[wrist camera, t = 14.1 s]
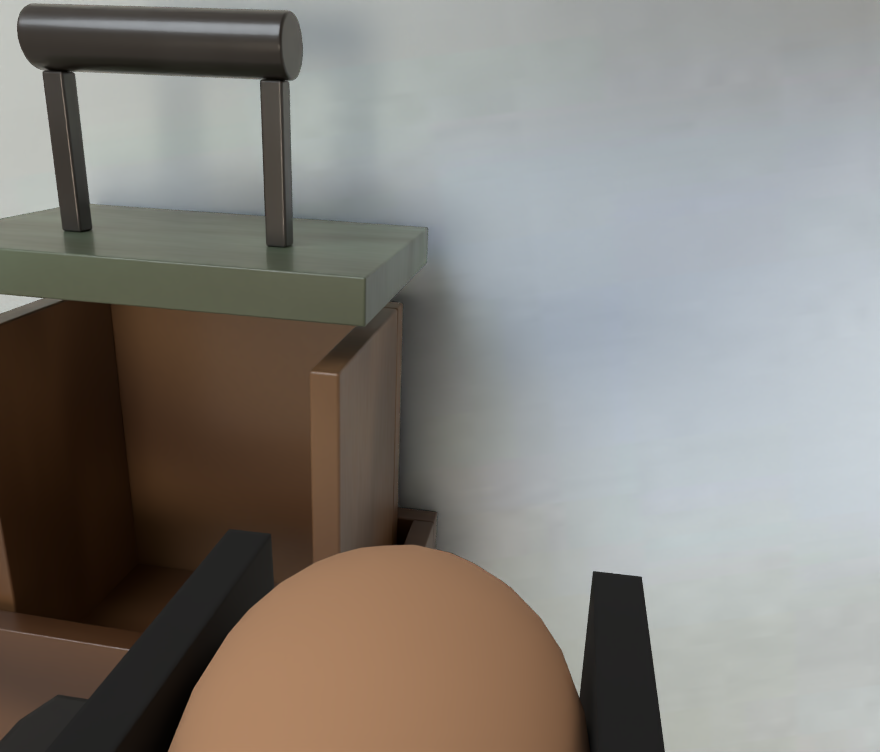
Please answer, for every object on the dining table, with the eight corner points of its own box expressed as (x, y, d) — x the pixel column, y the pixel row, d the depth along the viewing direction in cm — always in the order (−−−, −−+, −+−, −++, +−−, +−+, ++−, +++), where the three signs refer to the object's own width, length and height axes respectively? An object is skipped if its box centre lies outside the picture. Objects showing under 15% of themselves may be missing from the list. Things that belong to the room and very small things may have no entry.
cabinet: (111, 470, 31) (-77, 617, 22) (437, 511, 29) (375, 689, 20) (145, 762, 36) (5, 974, 28) (423, 813, 34) (369, 1059, 26)
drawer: (57, 20, 25) (-161, -16, 17) (435, 32, 23) (368, -3, 15) (121, 559, 31) (-16, 694, 24) (414, 601, 30) (361, 761, 22)
